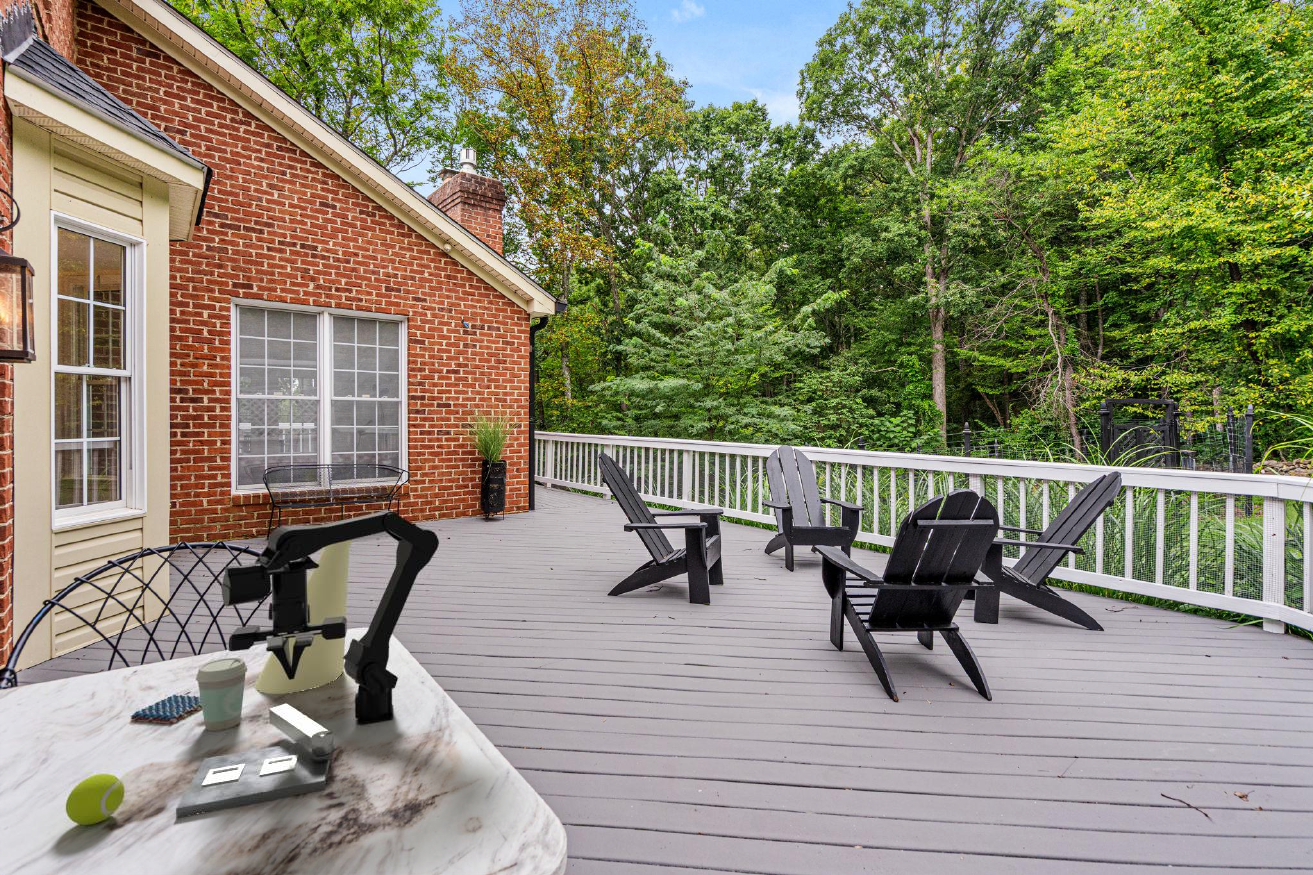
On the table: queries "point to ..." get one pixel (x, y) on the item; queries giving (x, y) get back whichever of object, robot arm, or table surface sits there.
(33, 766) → the table surface
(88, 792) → the tennis ball
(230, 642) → the robot arm
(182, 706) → the woven mat
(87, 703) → the table surface
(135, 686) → the table surface
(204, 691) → the coffee cup
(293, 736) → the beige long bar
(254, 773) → the panel
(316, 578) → the cone light
